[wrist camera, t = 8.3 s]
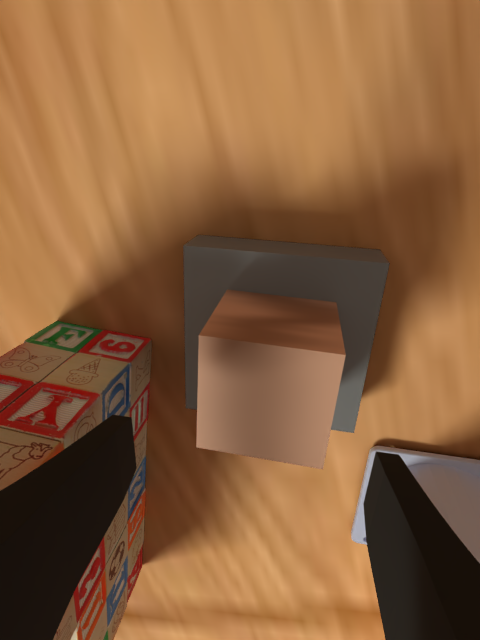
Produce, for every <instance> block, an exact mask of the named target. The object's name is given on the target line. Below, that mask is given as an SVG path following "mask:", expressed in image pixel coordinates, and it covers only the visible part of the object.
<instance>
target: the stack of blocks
mask: <svg viewBox="0 0 480 640" xmlns="http://www.w3.org/2000/svg"><path fill="white" fill-rule="evenodd" d="M151 349H152V341H151V339H149V338H144V337H139V336H134V335H129V334H124V333H118V332H113V331H108V330H99V329H94V328H89V327H84V326H79V325H74V324H69V323H64V322H60V321H56V322H54V323H53V324H51V325H49V326H47V327H46V328H44V329H43V330H41V331H39V332H38V333H36V334H35V335H33V336H31V337H30V338H28V339H27V340H25V342H24V343H23V344H21V345H19V346H17V347H16V348H14V349H12V350H11V351H9V352H7V353H6V354H4V355H3V356H1V357H0V491H1V490H2V489H4V488H6V487H7V486H9V485H11V484H12V483H14V482H16V481H17V480H19V479H20V478H22V477H23V476H25V475H27V474H28V473H30V472H31V471H33V470H34V469H36V468H37V467H39V466H40V465H42V464H43V463H45V462H47V461H48V460H50V459H51V458H53V457H54V456H56V455H57V454H58V453H60V452H61V451H63V450H64V449H65V448H67V447H68V446H70V445H71V444H73V443H74V442H75V441H77V440H78V439H80V438H81V437H82V436H84V435H85V434H86V433H88V432H89V431H91V430H92V429H93V428H95V427H96V426H97V425H99V424H100V423H102V422H103V421H104V420H106V419H107V418H109V417H110V416H112V415H119V416H126V417H132V426H133V436H134V446H135V456H136V466H137V468H136V471H135V474H134V476H133V479H132V481H131V484H130V486H129V489H128V491H127V494H126V496H125V498H124V501H123V502H122V504H121V506H120V508H119V510H118V512H117V514H116V516H115V517H114V519H113V521H112V523H111V525H110V527H109V528H108V530H107V532H106V534H105V536H104V537H103V539H102V541H101V543H100V545H99V546H98V548H97V550H96V552H95V554H94V555H93V557H92V559H91V561H90V563H89V565H88V566H87V568H86V570H85V572H84V574H83V575H82V577H81V579H80V581H79V583H78V585H77V587H76V589H75V591H74V593H73V596H72V598H71V600H70V602H69V605H68V607H67V609H66V611H65V614H64V616H63V618H62V620H61V623H60V625H59V627H58V629H57V632H56V634H55V636H54V639H53V640H113V639H114V637H115V634H116V632H117V629H118V627H119V624H120V622H121V619H122V617H123V614H124V612H125V609H126V607H127V602H128V600H129V597H130V595H131V593H132V590H133V588H134V586H135V583H136V581H137V578H138V576H139V573H140V570H141V568H142V549H143V548H142V545H143V542H144V515H145V499H146V487H145V472H146V455H145V454H146V436H147V420H148V411H149V385H150V372H151Z"/></svg>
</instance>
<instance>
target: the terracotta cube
mask: <svg viewBox="0 0 480 640" xmlns="http://www.w3.org/2000/svg"><path fill="white" fill-rule="evenodd" d="M345 356H346V354H345V348H344V342H343V337H342V331H341V325H340V320H339V314H338V308H337V303H336V302H330V301H321V300H313V299H304V298H296V297H287V296H279V295H270V294H262V293H253V292H245V291H236V290H228V289H227V291H226V292H225V294H224V296H223V297H222V299H221V300H220V302H219V304H218V305H217V307H216V308H215V310H214V312H213V313H212V315H211V316H210V318H209V320H208V321H207V323H206V325H205V326H204V328H203V329H202V331H201V333H200V334H199V349H198V393H197V438H196V447H197V448H203V449H209V450H215V451H220V452H226V453H232V454H238V455H243V456H249V457H255V458H261V459H267V460H272V461H278V462H284V463H290V464H295V465H301V466H307V467H313V468H318V469H323V466H324V461H325V456H326V451H327V446H328V441H329V436H330V431H331V426H332V421H333V416H334V411H335V406H336V401H337V396H338V391H339V386H340V381H341V376H342V371H343V366H344V361H345Z"/></svg>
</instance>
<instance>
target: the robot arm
mask: <svg viewBox="0 0 480 640" xmlns="http://www.w3.org/2000/svg"><path fill="white" fill-rule="evenodd" d="M136 468H137V466H136V456H135V446H134V436H133V426H132V417H126V416H119V415H112V416H110V417H109V418H107V419H106V420H104V421H103V422H102V423H100V424H99V425H97V426H96V427H95V428H93V429H92V430H91V431H89V432H88V433H86V434H85V435H84V436H82V437H81V438H80V439H78V440H77V441H75V442H74V443H73V444H71V445H70V446H68V447H67V448H65V449H64V450H63V451H61V452H60V453H58V454H57V455H56V456H54V457H53V458H51V459H50V460H48V461H47V462H45V463H43V464H42V465H40V466H39V467H37V468H36V469H34V470H33V471H31V472H30V473H28V474H27V475H25V476H23V477H22V478H20V479H19V480H17V481H16V482H14V483H12V484H11V485H9V486H7V487H6V488H4V489H2V490H1V491H0V640H53V639H54V636H55V634H56V632H57V629H58V627H59V625H60V623H61V620H62V618H63V616H64V614H65V611H66V609H67V607H68V605H69V602H70V600H71V598H72V596H73V593H74V591H75V589H76V587H77V585H78V583H79V581H80V579H81V577H82V575H83V574H84V572H85V570H86V568H87V566H88V565H89V563H90V561H91V559H92V557H93V555H94V554H95V552H96V550H97V548H98V546H99V545H100V543H101V541H102V539H103V537H104V536H105V534H106V532H107V530H108V528H109V527H110V525H111V523H112V521H113V519H114V517H115V516H116V514H117V512H118V510H119V508H120V506H121V504H122V502H123V501H124V498H125V496H126V494H127V491H128V489H129V486H130V484H131V481H132V479H133V476H134V474H135V471H136ZM351 537H352V540H353V541H355V542H357V543H361V544H367V547H368V552H369V557H370V562H371V568H372V573H373V578H374V583H375V588H376V593H377V598H378V603H379V608H380V613H381V618H382V623H383V628H384V633H385V639H386V640H480V460H476V459H469V458H462V457H455V456H448V455H441V454H434V453H427V452H420V451H413V450H406V449H398V448H391V447H384V446H374V447H372V448H371V449H370V451H369V455H368V460H367V464H366V468H365V473H364V477H363V482H362V486H361V491H360V495H359V499H358V504H357V508H356V513H355V517H354V522H353V526H352V530H351Z"/></svg>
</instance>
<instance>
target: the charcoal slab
mask: <svg viewBox="0 0 480 640" xmlns="http://www.w3.org/2000/svg"><path fill="white" fill-rule="evenodd" d="M183 249H184V319H185V389H186V408H189V409H196V410H197V393H198V349H199V334H200V333H201V331H202V329H203V328H204V326H205V325H206V323H207V321H208V320H209V318H210V316H211V315H212V313H213V312H214V310H215V308H216V307H217V305H218V304H219V302H220V300H221V299H222V297H223V296H224V294H225V292H226V291H227V289H228V290H236V291H245V292H253V293H262V294H270V295H279V296H287V297H296V298H304V299H313V300H321V301H330V302H336V303H337V308H338V314H339V320H340V325H341V331H342V337H343V342H344V348H345V354H346V356H345V361H344V366H343V371H342V376H341V381H340V386H339V391H338V396H337V401H336V406H335V411H334V416H333V421H332V426H331V430H338V431H344V432H351V433H354V430H355V425H356V420H357V416H358V411H359V406H360V401H361V397H362V392H363V387H364V382H365V378H366V373H367V368H368V363H369V359H370V354H371V349H372V344H373V340H374V335H375V330H376V326H377V321H378V316H379V311H380V307H381V302H382V297H383V292H384V288H385V283H386V278H387V273H388V269H389V264H390V263H389V262H388V260H387V259H386V258H385V256H384V255H383V253H382V252H381V251H380V250H378V249H366V248H353V247H341V246H329V245H317V244H305V243H292V242H280V241H268V240H256V239H244V238H231V237H219V236H207V235H197V236H196V237H195V238H193V239H192V240H190V241H189V242H188V243H186V244H185V245H183Z"/></svg>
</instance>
